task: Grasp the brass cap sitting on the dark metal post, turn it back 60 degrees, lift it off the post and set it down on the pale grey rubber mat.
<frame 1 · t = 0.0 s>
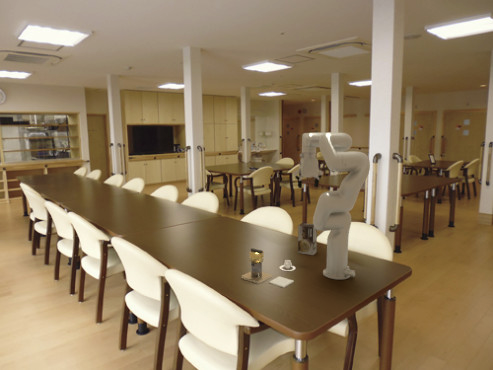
hand: (308, 187, 193), 37 cm above the table, tool pointing down, fingers open, 9 cm apart
coffee box: (307, 252, 198), on the table
teacup and saucer: (293, 268, 176), on the table
post: (256, 277, 163), on the table
cap: (256, 260, 162), point 8 cm above the table, touching post
mat: (281, 282, 158), on the table
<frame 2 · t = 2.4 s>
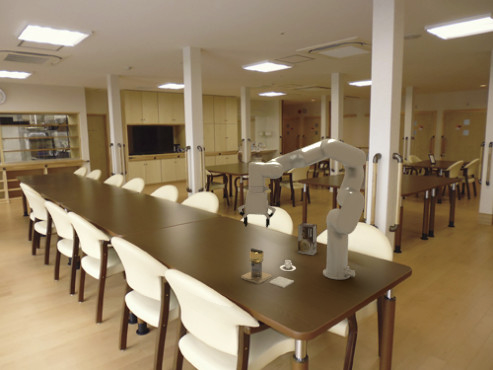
hand: (256, 226, 160), 24 cm above the table, tool pointing down, fingers open, 9 cm apart
nothing on the table moved.
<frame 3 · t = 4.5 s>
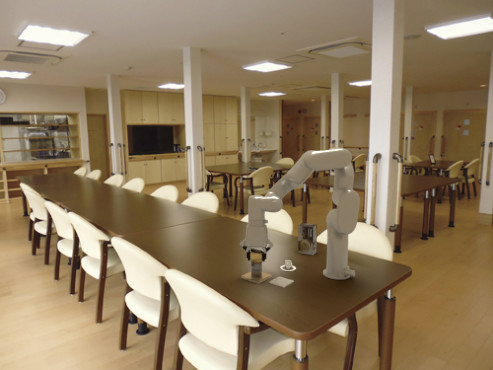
hand: (256, 259, 162), 9 cm above the table, tool pointing down, fingers closed on cap, 6 cm apart
cap: (256, 260, 162), point 8 cm above the table, touching gripper, post
everything else where it was.
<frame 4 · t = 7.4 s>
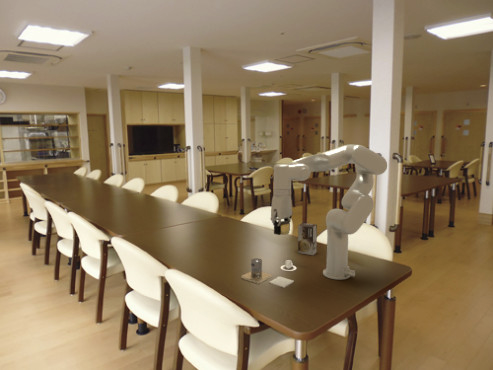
hand: (281, 232, 155), 23 cm above the table, tool pointing down, fingers closed on cap, 6 cm apart
cap: (281, 232, 155), point 23 cm above the table, touching gripper
everything else where it was.
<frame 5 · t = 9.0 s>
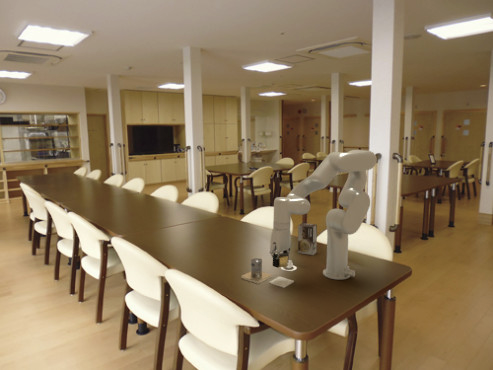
hand: (280, 264, 157), 9 cm above the table, tool pointing down, fingers closed on cap, 6 cm apart
cap: (280, 264, 157), point 8 cm above the table, touching gripper
everything else where it was.
when the fingers open (2 cm above the table, at t = 10.3 s): cap drops 1 cm, resting on mat.
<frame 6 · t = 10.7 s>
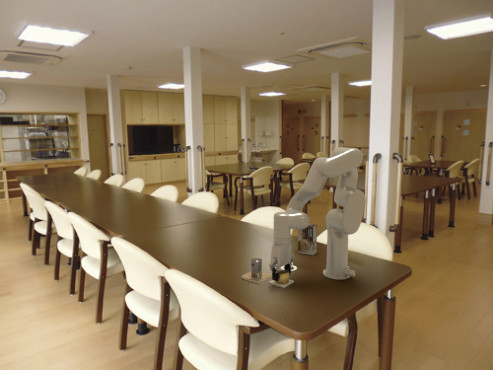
hand: (281, 277, 158), 3 cm above the table, tool pointing down, fingers open, 9 cm apart
cap: (281, 281, 158), point 1 cm above the table, touching mat
everything else where it was.
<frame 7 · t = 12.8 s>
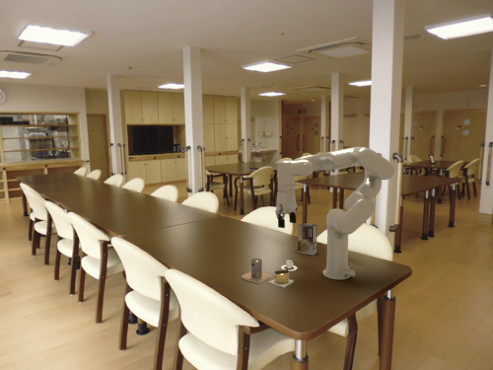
hand: (287, 225, 160), 25 cm above the table, tool pointing down, fingers open, 9 cm apart
nothing on the table moved.
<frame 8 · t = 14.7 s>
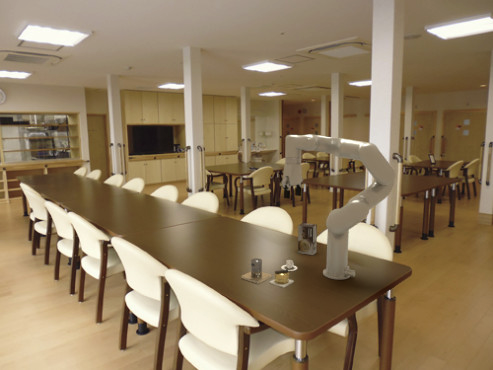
hand: (292, 197, 168), 36 cm above the table, tool pointing down, fingers open, 9 cm apart
nothing on the table moved.
at the end: cap inside the target area on the mat (0.0 cm from its centre), point 0.6 cm above the mat's base; cap tilted 0°; the gripper is holding nothing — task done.
